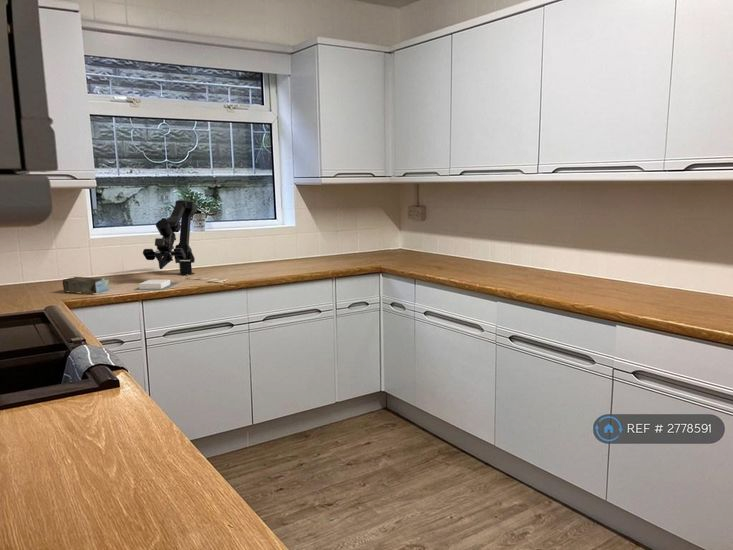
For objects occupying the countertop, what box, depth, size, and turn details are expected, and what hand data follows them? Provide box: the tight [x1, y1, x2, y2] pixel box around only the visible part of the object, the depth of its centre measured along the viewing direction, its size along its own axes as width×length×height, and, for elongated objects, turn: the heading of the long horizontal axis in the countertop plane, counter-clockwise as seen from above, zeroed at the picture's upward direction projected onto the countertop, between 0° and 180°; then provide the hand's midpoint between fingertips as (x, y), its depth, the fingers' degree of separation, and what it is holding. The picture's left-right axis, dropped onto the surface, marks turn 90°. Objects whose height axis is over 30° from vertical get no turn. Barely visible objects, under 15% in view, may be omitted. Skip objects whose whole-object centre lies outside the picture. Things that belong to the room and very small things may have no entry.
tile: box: [138, 279, 171, 291], centre depth 266 cm, size 2×10×11 cm
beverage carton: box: [62, 276, 110, 294], centre depth 259 cm, size 8×19×7 cm, turn 70°
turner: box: [185, 277, 229, 284], centre depth 284 cm, size 22×7×1 cm, turn 69°
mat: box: [134, 281, 181, 291], centre depth 270 cm, size 20×14×1 cm
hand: (160, 268), depth 273 cm, fingers closed
